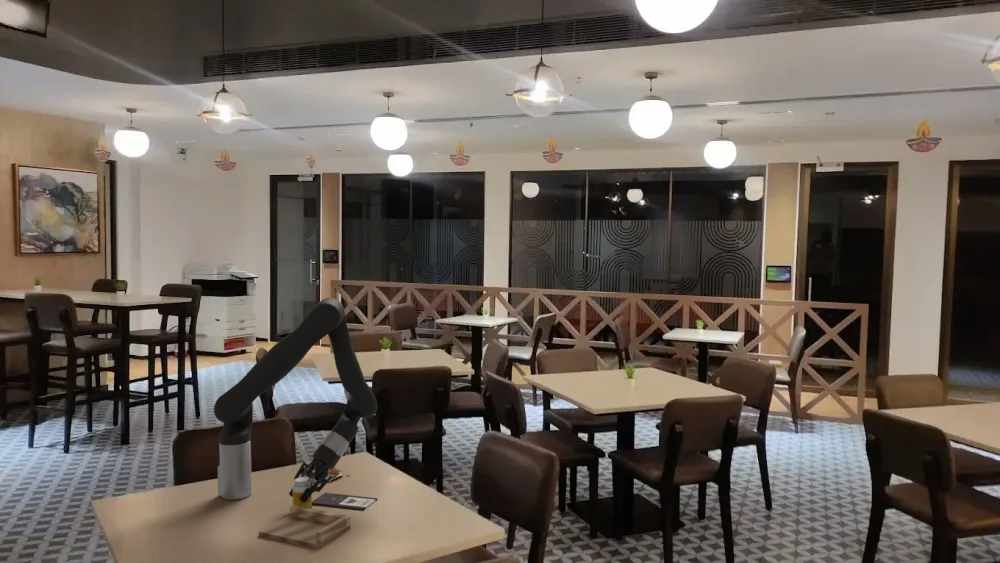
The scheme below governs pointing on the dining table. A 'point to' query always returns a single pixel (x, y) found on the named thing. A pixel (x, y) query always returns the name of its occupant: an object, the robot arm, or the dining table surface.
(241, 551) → the dining table surface
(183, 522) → the dining table surface
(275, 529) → the wooden tray
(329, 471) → the hamburger
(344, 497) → the chocolate bar
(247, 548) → the dining table surface
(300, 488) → the supplement bottle
